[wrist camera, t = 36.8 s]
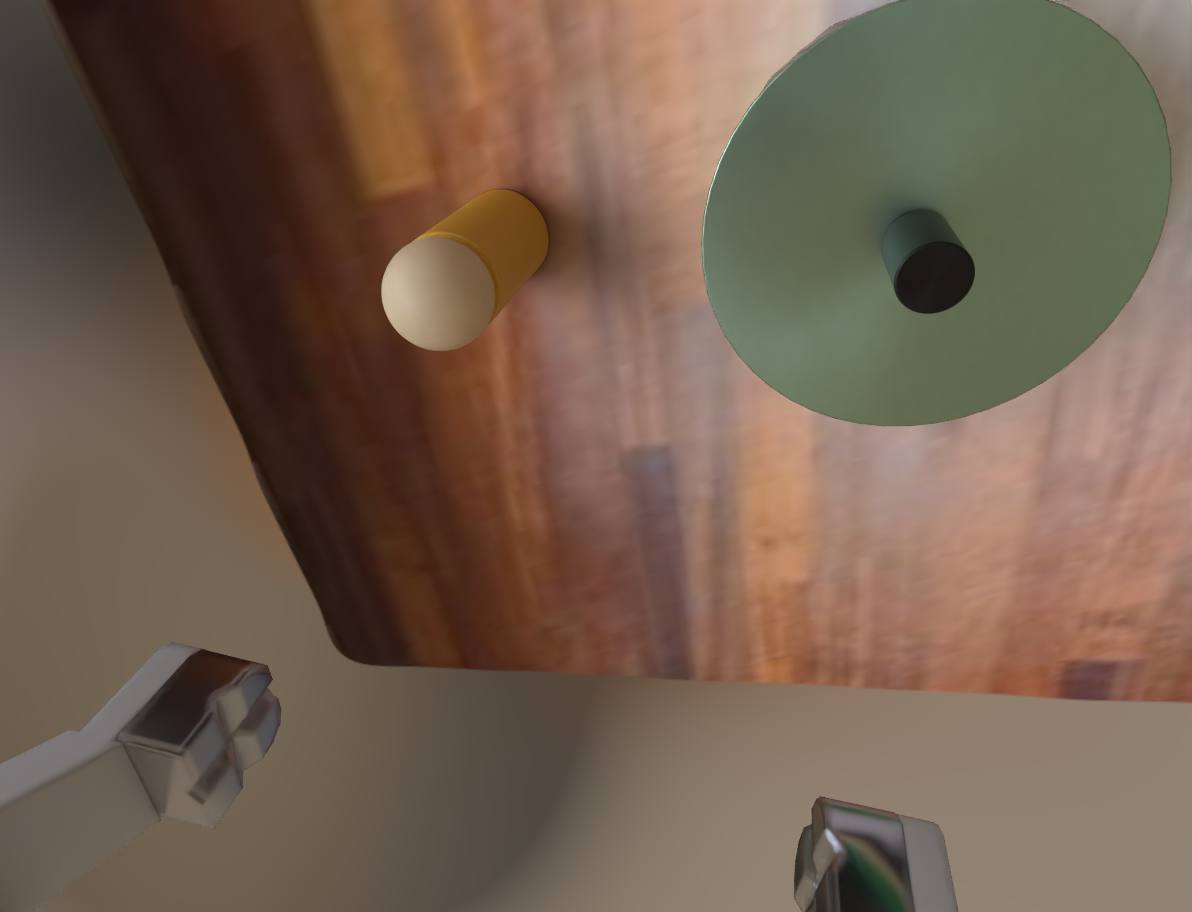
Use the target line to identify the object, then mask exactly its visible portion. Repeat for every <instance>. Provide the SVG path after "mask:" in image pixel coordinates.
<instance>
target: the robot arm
mask: <svg viewBox="0 0 1192 912" xmlns="http://www.w3.org/2000/svg"><path fill="white" fill-rule="evenodd" d="M272 680H273V679H272V676H271V673H270V671H269V668H268V665H264V664H260V663H256V662H252V661H248V660H244V659H240V658H236V657H231V656H227V655H223V654H219V653H215V652H210V651H208V650H205V649H201V648H197V647H192V646H188V645H184V644H179V643H175V642H171V643H169V644H168V645H166V646H164V647H162V648H160V649H159V650H158V651H157V652H156V653H155V654H154V655H153V656H152V657H151V658H150V659H149V660H148V661H147V662H146V663H145V664H144V665H143V666H142V667H141V668H140V669H139V670H138V672H137V673H136V674H135V675H134V676H133V677H132V678H131V679H130V680H129V681H128V682H127V683H126V684H125V685H124V686H123V687H122V688H121V689H120V691H119V692H117V694H116V695H115V696H114V697H113V698H112V699H111V700H110V701H109V702H108V703H107V704H106V705H105V706H104V707H103V708H102V709H101V710H100V711H99V713H97V715H96V716H95V717H94V718H93V719H92V720H91V721H90V722H89V723H88V724H87V725H86V726H85V727H84V728H83V729H82V730H81V731H76V730H69V731H67V732H65V733H64V734H61V735H59V736H57V737H55V738H53V739H51V740H49V741H47V742H45V743H43V744H41V745H39V746H37V747H35V748H33V749H31V750H29V751H27V752H24V753H23V754H21V755H18V756H17V757H14V758H12V759H10V760H8V761H6V762H4V763H2V764H0V912H33V911H34V910H35V909H37V908H38V907H40V906H41V905H43V904H44V903H46V902H47V901H48V900H50V899H51V898H53V897H54V896H55V895H57V894H58V893H60V892H61V891H63V890H64V889H65V888H67V887H68V886H70V885H71V884H72V883H73V882H75V881H77V880H78V879H79V878H81V877H82V876H84V875H85V874H87V873H88V872H89V871H91V870H92V869H94V868H95V867H96V866H98V865H99V864H101V863H102V862H103V861H105V860H106V859H108V858H109V857H110V856H112V855H113V854H115V853H116V852H118V851H119V850H120V849H122V848H123V847H125V846H126V845H127V844H129V843H130V842H132V841H133V840H134V839H136V838H137V837H139V836H140V835H142V834H143V833H144V832H146V831H147V830H149V829H150V828H151V827H153V826H154V825H156V824H157V823H158V822H160V821H161V819H160V817H163V818H167V819H172V820H176V821H180V822H184V823H188V824H192V825H196V826H200V827H204V828H208V829H212V830H214V829H215V828H216V827H217V825H218V824H219V822H220V821H221V819H222V818H223V816H224V815H225V813H226V812H227V810H228V809H229V808H230V806H231V805H232V803H233V802H234V800H235V799H236V797H237V796H238V794H239V793H240V792H241V790H242V789H243V771H245V770H246V769H248V768H250V767H251V766H253V765H254V764H256V763H258V762H260V761H261V760H262V759H263V757H264V756H265V754H266V753H267V751H268V750H269V748H270V747H271V745H272V743H273V741H274V739H275V736H276V734H277V731H278V728H279V726H280V721H281V706H280V703H279V699H278V698H277V697H276V696H275V695H274V694H273V693H272V692H271V691H270V690H269V689H268V688H267V687H268V686H269V684H270V683H271V681H272ZM794 899H795V901H796V903H797V904H798V906H799V908H800V910H801V911H802V912H958V907H957V902H956V897H955V892H954V886H953V881H952V876H951V871H950V866H949V860H948V855H947V850H946V845H945V840H944V835H943V833H942V831H941V830H940V828H939V826H938V825H937V824H935V823H934V822H930V821H925V820H921V819H916V818H912V817H907V816H903V815H899V814H895V813H894V812H890V811H885V810H881V809H876V808H871V807H867V806H862V805H857V804H853V803H848V802H844V801H839V800H834V799H830V798H826V797H819V798H817V799H816V801H815V803H814V806H813V808H812V824H811V825H809V826H806V827H805V828H804V829H803V832H802V834H801V837H800V840H799V844H798V849H797V854H796V860H795V874H794Z"/></svg>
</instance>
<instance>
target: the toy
mask: <svg viewBox="0 0 1192 912" xmlns="http://www.w3.org/2000/svg"><path fill="white" fill-rule="evenodd" d="M548 244H549V237H548V230H547V226H546V223H545V221H544V218H543V217H542V215H541V213H540V212H539V210H538V209H537V207H536V206H535V205H534V204H533V203H532V202H531V201H529V200H528V199H527V198H526V197H524V196H522V195H521V194H519V193H516V192H513V191H510V190H505V189H496V190H490V191H487V192H485V193H483V194H481V195H479V196H478V197H476V198H475V199H473V200H472V201H470V202H469V203H468V204H466V205H465V206H463V207H462V208H460V209H459V210H457V211H456V212H454V213H453V214H451V215H450V216H449V217H447V218H446V219H444V220H443V221H441V222H440V223H438V224H437V225H435V226H434V227H433V228H431V229H430V230H428V231H427V232H425V233H424V234H422V235H421V236H419V237H418V238H416V239H415V240H414V241H413V242H412V243H410V244H408V245H407V246H405V247H403V248H402V249H401V250H400V251H399V252H398V253H397V254H396V255H395V256H394V257H393V258H392V260H391V261H390V263H389V265H388V266H387V268H386V271H385V273H384V277H383V281H382V302H383V306H384V309H385V312H386V314H387V317H388V319H389V321H390V322H391V324H392V325H393V327H394V328H395V329H396V330H397V332H398V333H399V334H400V335H402V336H403V337H404V338H405V339H406V340H408V341H409V342H411V343H413V344H415V345H417V346H419V347H422V348H425V349H429V350H435V351H448V350H453V349H457V348H460V347H463V346H465V345H467V344H469V343H470V342H472V341H473V340H475V339H476V338H477V337H478V336H479V335H480V334H481V333H482V332H483V331H484V329H485V328H486V326H488V325H489V324H490V323H491V322H492V321H493V319H494V318H495V317H496V316H497V315H498V314H499V313H500V311H501V310H502V309H503V308H504V307H505V306H506V305H507V303H508V302H509V301H510V300H511V299H512V298H513V297H514V295H515V294H516V293H517V292H518V291H519V290H520V289H521V287H522V286H523V285H524V284H525V283H526V282H527V281H528V279H529V278H530V277H531V276H532V275H533V274H534V273H535V271H536V270H537V269H538V268H539V267H540V265H541V264H542V263H543V261H544V259H545V257H546V254H547V250H548Z"/></svg>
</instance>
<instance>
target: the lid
mask: <svg viewBox="0 0 1192 912" xmlns="http://www.w3.org/2000/svg"><path fill="white" fill-rule="evenodd" d="M1170 188H1171V148H1170V142H1169V137H1168V132H1167V126H1166V121H1165V117H1164V115H1163V112H1162V109H1161V107H1160V104H1159V101H1158V99H1157V96H1156V93H1155V91H1154V89H1153V87H1152V85H1151V84H1150V82H1149V81H1148V79H1147V77H1146V76H1145V74H1144V72H1143V71H1142V69H1141V67H1140V66H1139V64H1138V63H1137V61H1136V60H1135V59H1134V58H1133V57H1132V56H1131V55H1130V54H1129V52H1128V51H1127V50H1126V49H1125V48H1124V47H1123V46H1122V45H1121V43H1120V42H1119V41H1118V40H1117V39H1116V38H1114V37H1113V36H1112V35H1110V34H1109V33H1108V32H1107V31H1105V30H1104V29H1103V28H1101V27H1100V26H1099V25H1098V24H1096V23H1095V22H1094V21H1092V20H1091V19H1089V18H1087V17H1085V16H1083V15H1081V14H1079V13H1077V12H1076V11H1074V10H1072V9H1070V8H1068V7H1066V6H1064V5H1062V4H1059V3H1056V2H1053V1H1050V0H899V1H896V2H892V3H889V4H886V5H884V6H881V7H879V8H876V9H874V10H872V11H869V12H867V13H865V14H862V15H860V16H858V17H855V18H853V19H852V20H850V21H848V22H847V23H845V24H843V25H841V26H840V27H838V28H836V29H834V30H833V31H831V32H829V33H828V34H826V35H824V36H823V37H821V38H820V39H819V40H817V41H816V42H815V43H813V44H812V45H811V46H809V47H808V48H807V49H805V50H804V51H803V52H801V53H800V54H799V55H797V56H796V57H795V58H794V59H793V60H792V61H791V62H790V63H789V64H788V65H787V66H786V67H784V68H783V69H782V70H781V71H780V72H779V73H778V74H777V75H776V76H775V77H774V78H773V79H772V80H771V81H770V82H769V83H768V85H767V86H766V87H765V88H764V90H763V91H762V92H761V93H760V94H759V96H758V97H757V98H756V99H755V100H754V102H753V103H752V104H751V105H750V107H749V108H748V110H747V111H746V113H745V114H744V116H743V118H742V119H741V121H740V122H739V124H738V125H737V127H736V128H735V130H734V131H733V133H732V135H731V137H730V139H729V141H728V144H727V146H726V148H725V150H724V152H723V154H722V156H721V158H720V160H719V163H718V166H717V169H716V172H715V174H714V177H713V180H712V183H711V186H710V189H709V194H708V198H707V203H706V208H705V213H704V219H703V232H702V260H703V272H704V277H705V282H706V287H707V293H708V296H709V299H710V302H711V305H712V308H713V311H714V314H715V316H716V318H717V320H718V322H719V324H720V326H721V328H722V330H723V332H724V335H725V337H726V338H727V339H728V341H729V342H730V344H731V345H732V347H733V348H734V350H735V351H736V353H737V354H738V356H739V357H740V358H741V359H742V360H743V361H744V362H745V363H746V365H747V366H748V367H749V368H750V369H751V370H752V371H753V372H754V373H755V374H756V375H757V376H758V377H760V378H761V379H762V380H763V381H764V382H765V383H767V384H768V385H769V386H770V387H771V388H773V389H774V390H776V391H777V392H779V393H780V394H782V395H784V396H785V397H787V398H788V399H790V400H791V401H793V402H796V403H798V404H800V405H802V406H804V407H806V408H808V409H810V410H812V411H815V412H818V413H821V414H824V415H827V416H830V417H832V418H836V419H840V420H845V421H849V422H854V423H859V424H868V425H878V426H914V425H924V424H933V423H939V422H944V421H949V420H953V419H958V418H963V417H966V416H969V415H972V414H975V413H978V412H982V411H985V410H988V409H991V408H993V407H995V406H997V405H1000V404H1002V403H1004V402H1007V401H1009V400H1011V399H1014V398H1016V397H1018V396H1020V395H1021V394H1023V393H1025V392H1027V391H1029V390H1030V389H1032V388H1034V387H1036V386H1038V385H1040V384H1041V383H1043V382H1044V381H1046V380H1047V379H1049V378H1050V377H1051V376H1053V375H1054V374H1056V373H1057V372H1059V371H1060V370H1062V369H1063V368H1064V367H1066V366H1067V365H1068V364H1070V363H1071V362H1072V361H1073V360H1074V359H1075V358H1077V357H1078V356H1079V355H1080V354H1081V353H1082V352H1084V351H1085V350H1086V349H1087V348H1088V347H1089V346H1090V345H1091V344H1092V343H1093V342H1094V341H1095V340H1096V339H1097V338H1098V337H1099V336H1100V335H1101V334H1102V333H1103V332H1104V331H1105V330H1106V329H1107V327H1108V326H1109V325H1110V324H1111V323H1112V322H1113V320H1114V319H1115V318H1116V317H1117V315H1118V314H1119V313H1120V311H1121V310H1122V309H1123V307H1124V306H1125V305H1126V303H1127V302H1128V301H1129V299H1130V298H1131V296H1132V294H1133V293H1134V291H1135V289H1136V288H1137V286H1138V284H1139V283H1140V281H1141V279H1142V278H1143V276H1144V274H1145V272H1146V270H1147V268H1148V266H1149V264H1150V261H1151V259H1152V257H1153V254H1154V252H1155V250H1156V247H1157V245H1158V243H1159V239H1160V236H1161V232H1162V229H1163V225H1164V222H1165V218H1166V215H1167V210H1168V203H1169V195H1170Z"/></svg>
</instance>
